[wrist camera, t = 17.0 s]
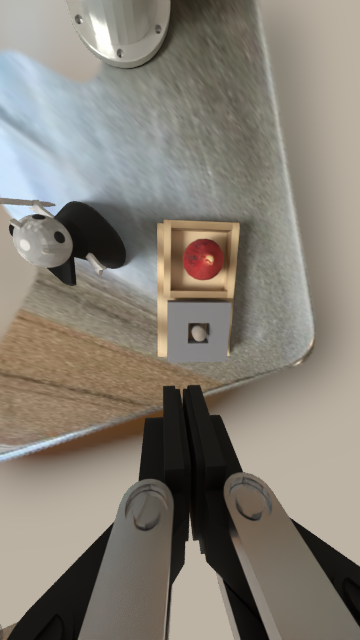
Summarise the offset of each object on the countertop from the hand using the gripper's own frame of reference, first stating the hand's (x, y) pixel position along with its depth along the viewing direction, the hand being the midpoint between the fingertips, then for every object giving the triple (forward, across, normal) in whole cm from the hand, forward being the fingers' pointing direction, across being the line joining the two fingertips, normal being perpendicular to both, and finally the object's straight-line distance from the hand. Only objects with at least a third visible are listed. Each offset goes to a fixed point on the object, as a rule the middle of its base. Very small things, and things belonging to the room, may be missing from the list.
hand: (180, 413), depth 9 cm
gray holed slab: (+25, -5, +3) cm, 26 cm away
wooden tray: (+27, -5, -2) cm, 28 cm away
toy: (+27, +12, -10) cm, 31 cm away
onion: (+26, -5, -8) cm, 28 cm away
